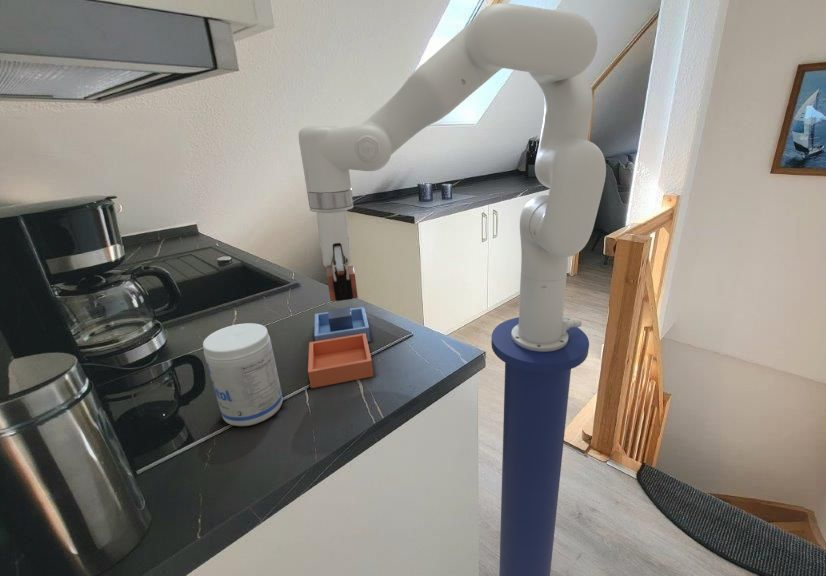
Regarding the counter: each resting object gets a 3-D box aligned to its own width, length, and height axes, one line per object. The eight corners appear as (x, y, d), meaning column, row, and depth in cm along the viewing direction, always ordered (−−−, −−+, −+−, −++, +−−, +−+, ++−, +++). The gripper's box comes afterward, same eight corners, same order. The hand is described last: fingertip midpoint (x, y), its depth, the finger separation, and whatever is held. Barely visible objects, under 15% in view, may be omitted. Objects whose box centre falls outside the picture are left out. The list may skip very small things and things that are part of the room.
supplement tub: (211, 418, 68) (186, 342, 63) (259, 387, 76) (241, 317, 71) (249, 436, 64) (226, 357, 59) (296, 401, 72) (280, 328, 66)
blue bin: (365, 319, 102) (363, 306, 100) (370, 341, 92) (369, 327, 90) (317, 327, 98) (314, 313, 97) (316, 350, 88) (314, 336, 87)
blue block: (352, 325, 98) (350, 306, 96) (354, 334, 93) (351, 315, 91) (331, 328, 96) (328, 309, 94) (331, 338, 92) (328, 318, 90)
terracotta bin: (367, 347, 89) (365, 333, 88) (373, 376, 79) (371, 360, 78) (311, 357, 86) (309, 342, 85) (310, 388, 76) (307, 372, 74)
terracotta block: (355, 288, 82) (353, 265, 80) (357, 298, 78) (354, 273, 76) (330, 291, 81) (326, 268, 79) (330, 301, 76) (326, 276, 74)
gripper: (309, 194, 78) (323, 281, 85) (307, 211, 63) (323, 314, 70) (349, 191, 81) (359, 276, 88) (356, 207, 66) (367, 308, 73)
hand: (343, 292), depth 79 cm, fingers closed on terracotta block, 5 cm apart
